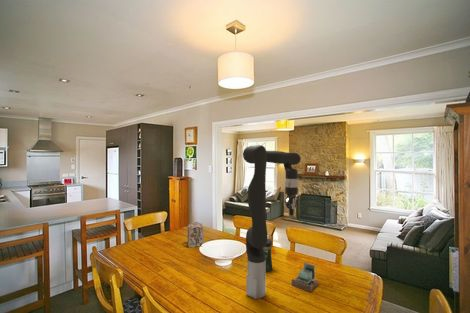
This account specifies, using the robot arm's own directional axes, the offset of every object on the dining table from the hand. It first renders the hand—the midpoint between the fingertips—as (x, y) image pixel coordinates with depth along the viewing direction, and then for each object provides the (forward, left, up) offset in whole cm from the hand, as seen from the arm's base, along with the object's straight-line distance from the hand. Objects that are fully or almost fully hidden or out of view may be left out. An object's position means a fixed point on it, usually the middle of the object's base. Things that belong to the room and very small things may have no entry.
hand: (291, 215), depth 139 cm
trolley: (-4, -11, -35) cm, 37 cm away
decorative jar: (-7, +81, -35) cm, 89 cm away
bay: (-6, -11, -35) cm, 37 cm away
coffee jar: (-5, +16, -35) cm, 39 cm away
